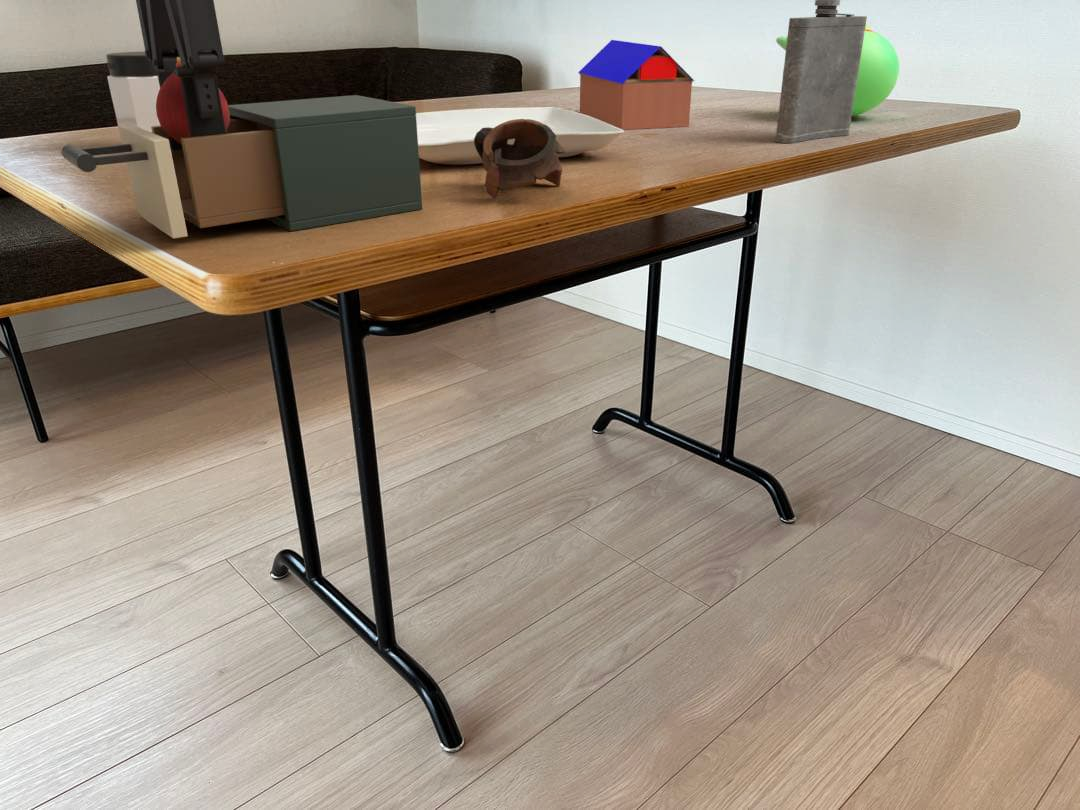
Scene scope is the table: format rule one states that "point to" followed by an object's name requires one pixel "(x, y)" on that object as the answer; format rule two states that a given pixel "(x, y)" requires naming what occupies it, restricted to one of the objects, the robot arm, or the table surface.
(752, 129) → the table surface
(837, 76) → the flask
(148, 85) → the jar
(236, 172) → the drawer
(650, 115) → the house
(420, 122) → the square plate
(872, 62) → the toy bird
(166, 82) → the onion
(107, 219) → the table surface
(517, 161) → the pottery mug
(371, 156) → the cabinet
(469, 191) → the table surface
